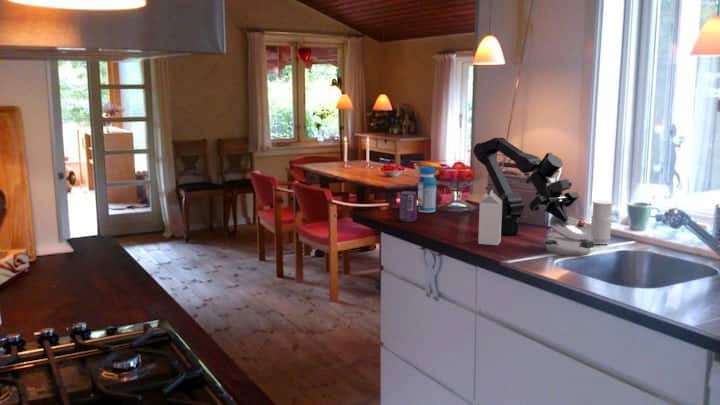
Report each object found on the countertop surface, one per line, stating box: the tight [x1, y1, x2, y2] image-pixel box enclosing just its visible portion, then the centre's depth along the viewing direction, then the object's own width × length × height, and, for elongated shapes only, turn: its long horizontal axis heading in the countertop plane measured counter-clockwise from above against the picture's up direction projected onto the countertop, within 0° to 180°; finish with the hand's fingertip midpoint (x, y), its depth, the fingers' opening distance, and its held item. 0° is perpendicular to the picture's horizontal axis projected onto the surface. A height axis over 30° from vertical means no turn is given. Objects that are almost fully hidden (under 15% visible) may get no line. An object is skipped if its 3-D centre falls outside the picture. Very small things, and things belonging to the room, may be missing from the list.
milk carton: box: [477, 189, 502, 246], centre depth 229 cm, size 7×7×19 cm
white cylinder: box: [590, 199, 614, 245], centre depth 229 cm, size 7×7×15 cm
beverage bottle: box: [417, 165, 438, 213], centre depth 289 cm, size 8×8×20 cm
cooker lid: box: [549, 215, 593, 241], centre depth 217 cm, size 14×14×2 cm
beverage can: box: [399, 190, 418, 223], centre depth 268 cm, size 7×7×12 cm
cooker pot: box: [544, 231, 595, 257], centre depth 218 cm, size 16×20×5 cm
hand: (566, 221), depth 219 cm, fingers closed
